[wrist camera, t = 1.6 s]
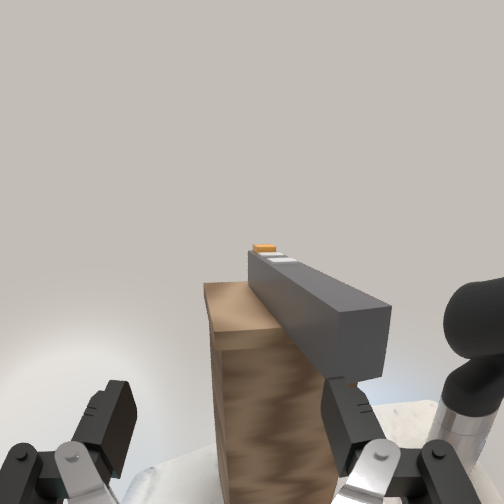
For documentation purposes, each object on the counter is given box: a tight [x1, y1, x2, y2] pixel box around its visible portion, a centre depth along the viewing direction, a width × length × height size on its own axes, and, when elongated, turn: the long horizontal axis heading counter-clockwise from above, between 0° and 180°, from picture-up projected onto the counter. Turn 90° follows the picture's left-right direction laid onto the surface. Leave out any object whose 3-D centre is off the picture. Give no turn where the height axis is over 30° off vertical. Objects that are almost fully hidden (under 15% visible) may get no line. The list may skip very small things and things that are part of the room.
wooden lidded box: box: [204, 282, 358, 504], centre depth 34 cm, size 13×16×32 cm
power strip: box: [248, 244, 392, 384], centre depth 26 cm, size 3×23×5 cm, turn 11°
